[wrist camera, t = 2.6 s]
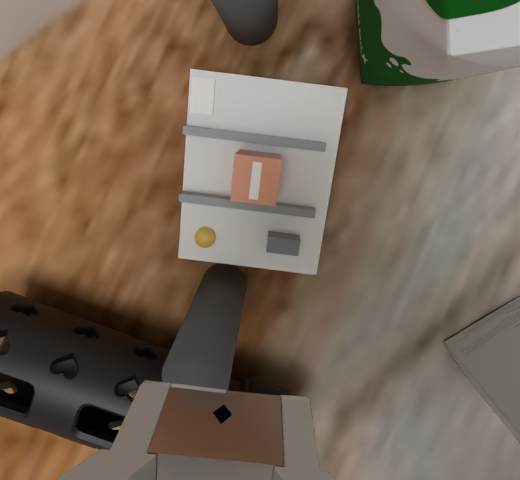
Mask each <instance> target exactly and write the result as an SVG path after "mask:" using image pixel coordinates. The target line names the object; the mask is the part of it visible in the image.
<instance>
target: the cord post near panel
mask: <svg viewBox="0 0 520 480" xmlns="http://www.w3.org/2000/svg"><path fill="white" fill-rule="evenodd" d="M245 290H246V280H245V277H244V275H243V274H242V272H241V271H240V270H239V269H238V268H236V267H234V266H232V265H229V264H217V265H215V266H212V267H211V268H209V269H208V270H207V271H206V273H205V274H204V277H203V279H202V281H201V283H200V285H199V288H198V290H197V292H196V294H195V297H194V299H193V301H192V303H191V305H190V308H189V310H188V312H187V314H186V317H185V319H184V321H183V323H182V325H181V328H180V330H179V332H178V334H177V337H176V339H175V341H174V343H173V345H172V348H171V350H170V352H169V354H168V357H167V359H166V361H165V363H164V365H163V368H162V382H165V383H171V384H173V383H175V384H183V385H191V386H199V387H206V388H214V389H222V390H228V387H229V383H230V377H231V371H232V365H233V360H234V354H235V348H236V342H237V336H238V331H239V325H240V319H241V313H242V307H243V302H244V296H245Z"/></svg>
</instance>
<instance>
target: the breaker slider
mask: <svg viewBox="0 0 520 480" xmlns="http://www.w3.org/2000/svg"><path fill="white" fill-rule="evenodd" d="M281 163H282V157H281V154H275V153H267V152H258V151H250V150H242V149H240V150H238V151H237V152H236V153H235V155H234V165H233V175H232V186H231V196H230V201H237V202H245V203H253V204H261V205H269V206H276V201H277V194H278V186H279V179H280V171H281Z"/></svg>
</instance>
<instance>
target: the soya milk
mask: <svg viewBox="0 0 520 480" xmlns="http://www.w3.org/2000/svg"><path fill="white" fill-rule="evenodd" d="M355 4H356V17H357V30H358V43H359V57H360V70H361V83H362V84H375V85H388V86H407V85H418V84H429V83H437V82H445V81H451V80H456V79H461V78H466V77H471V76H476V75H481V74H485V73H490V72H495V71H500V70H505V69H509V68H514V67H520V0H355Z"/></svg>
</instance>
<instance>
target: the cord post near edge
mask: <svg viewBox="0 0 520 480" xmlns="http://www.w3.org/2000/svg"><path fill="white" fill-rule="evenodd" d="M211 1H212V2H213V4H214V6H215V8H216V10H217V12H218V13H219V15H220V17H221V19H222V21H223V23H224V24H225V26H226V28H227V30H228V32H229V33H230V35H231V36H232V37H233V38H234V39H235V40H236V41H238V42H239V43H241V44H244V45H251V46H252V45H258V44H260V43H263V42H264V41H266V40H267V39H268V38H269V37H270V36H271V35H272V33H273V31H274V29H275V27H276V24H277V12H278V0H211Z"/></svg>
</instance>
